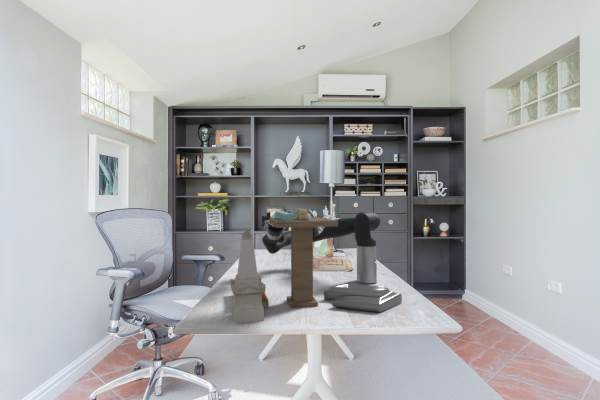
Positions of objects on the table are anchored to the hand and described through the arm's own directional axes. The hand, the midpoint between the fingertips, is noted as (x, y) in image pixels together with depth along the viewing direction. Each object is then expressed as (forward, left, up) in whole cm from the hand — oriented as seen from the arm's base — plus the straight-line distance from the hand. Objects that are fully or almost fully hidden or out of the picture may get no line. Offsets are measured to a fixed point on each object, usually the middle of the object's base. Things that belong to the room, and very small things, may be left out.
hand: (279, 213), depth 147 cm
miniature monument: (+5, +31, -34) cm, 47 cm away
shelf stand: (-11, +13, -34) cm, 38 cm away
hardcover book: (+9, +13, -34) cm, 38 cm away
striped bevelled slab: (-34, +8, -34) cm, 49 cm away
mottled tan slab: (-16, -59, -35) cm, 70 cm away
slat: (-4, +10, -2) cm, 11 cm away
